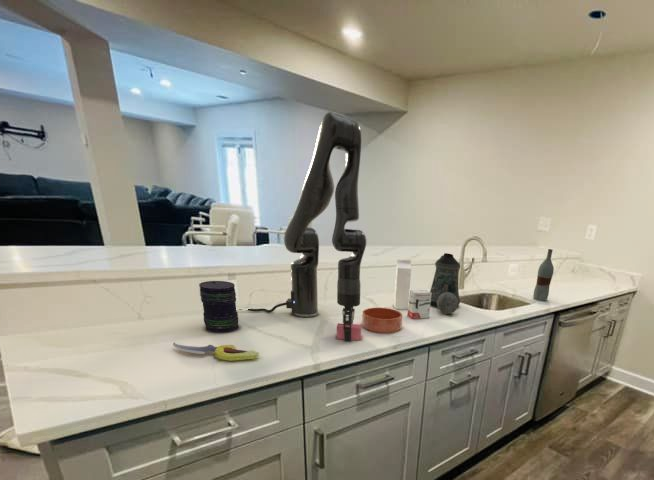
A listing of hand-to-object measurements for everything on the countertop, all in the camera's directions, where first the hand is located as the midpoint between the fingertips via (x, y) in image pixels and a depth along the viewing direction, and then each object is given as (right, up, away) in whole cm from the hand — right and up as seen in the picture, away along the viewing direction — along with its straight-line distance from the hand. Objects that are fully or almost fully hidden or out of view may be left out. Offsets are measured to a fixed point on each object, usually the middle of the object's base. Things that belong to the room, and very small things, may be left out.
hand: (348, 337), depth 136 cm
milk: (+12, +16, +43) cm, 48 cm away
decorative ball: (+33, +14, +44) cm, 57 cm away
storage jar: (-40, +2, -7) cm, 41 cm away
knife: (-31, -7, -25) cm, 41 cm away
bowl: (+9, +5, +15) cm, 18 cm away
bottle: (+88, +29, +99) cm, 136 cm away
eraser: (0, 0, 0) cm, 0 cm away
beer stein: (+30, +20, +58) cm, 68 cm away
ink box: (+21, +11, +34) cm, 41 cm away
